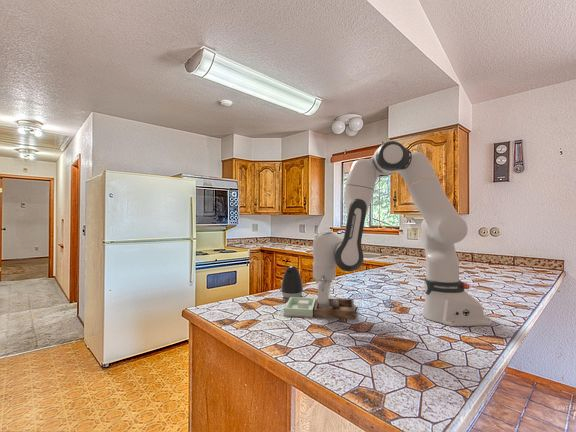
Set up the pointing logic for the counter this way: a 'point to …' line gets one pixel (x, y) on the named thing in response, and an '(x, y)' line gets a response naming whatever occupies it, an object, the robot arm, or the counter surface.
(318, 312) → the walnut crate
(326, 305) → the beige cube
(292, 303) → the green tray
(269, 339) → the counter surface
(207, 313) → the counter surface
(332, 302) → the round pebble
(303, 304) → the small beige block
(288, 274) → the black rounded cone
